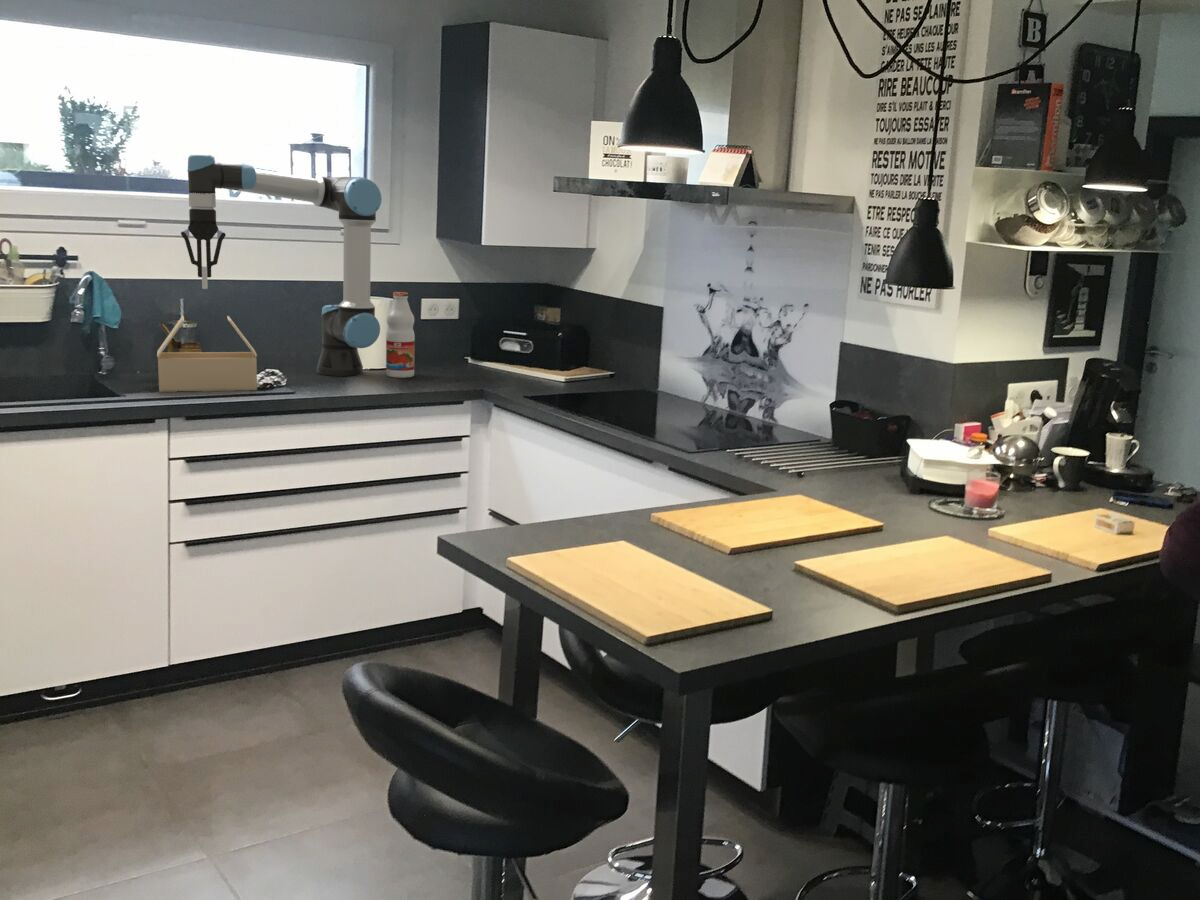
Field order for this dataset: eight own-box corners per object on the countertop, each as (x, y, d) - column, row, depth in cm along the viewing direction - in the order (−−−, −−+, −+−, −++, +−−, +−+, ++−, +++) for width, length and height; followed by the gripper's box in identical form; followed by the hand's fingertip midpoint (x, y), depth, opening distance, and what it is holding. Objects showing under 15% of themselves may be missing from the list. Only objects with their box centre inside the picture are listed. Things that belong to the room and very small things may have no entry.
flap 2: (253, 351, 369) (254, 350, 369) (255, 356, 357) (257, 355, 357) (227, 316, 364) (228, 315, 364) (228, 321, 352) (230, 320, 353)
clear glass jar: (162, 376, 378) (160, 320, 374) (206, 376, 382) (204, 320, 378) (159, 380, 370) (157, 323, 366) (205, 380, 373) (203, 323, 369)
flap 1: (158, 357, 348) (156, 356, 348) (158, 351, 360) (157, 350, 359) (184, 321, 348) (182, 320, 348) (183, 316, 360) (182, 315, 360)
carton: (254, 383, 371) (253, 352, 369) (257, 390, 359) (256, 358, 357) (159, 385, 362) (158, 352, 360) (159, 392, 350) (157, 358, 348)
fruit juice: (417, 374, 402) (418, 292, 396) (409, 378, 393) (410, 294, 387) (391, 373, 403) (391, 290, 397) (382, 377, 394) (382, 292, 388)
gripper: (225, 208, 355) (227, 287, 360) (179, 207, 350) (181, 287, 355) (226, 209, 348) (228, 289, 353) (179, 207, 343) (182, 289, 349)
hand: (204, 288), depth 354 cm, fingers closed
